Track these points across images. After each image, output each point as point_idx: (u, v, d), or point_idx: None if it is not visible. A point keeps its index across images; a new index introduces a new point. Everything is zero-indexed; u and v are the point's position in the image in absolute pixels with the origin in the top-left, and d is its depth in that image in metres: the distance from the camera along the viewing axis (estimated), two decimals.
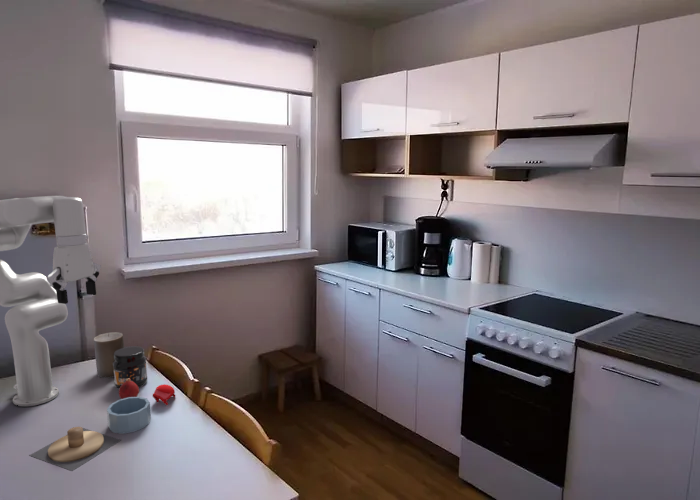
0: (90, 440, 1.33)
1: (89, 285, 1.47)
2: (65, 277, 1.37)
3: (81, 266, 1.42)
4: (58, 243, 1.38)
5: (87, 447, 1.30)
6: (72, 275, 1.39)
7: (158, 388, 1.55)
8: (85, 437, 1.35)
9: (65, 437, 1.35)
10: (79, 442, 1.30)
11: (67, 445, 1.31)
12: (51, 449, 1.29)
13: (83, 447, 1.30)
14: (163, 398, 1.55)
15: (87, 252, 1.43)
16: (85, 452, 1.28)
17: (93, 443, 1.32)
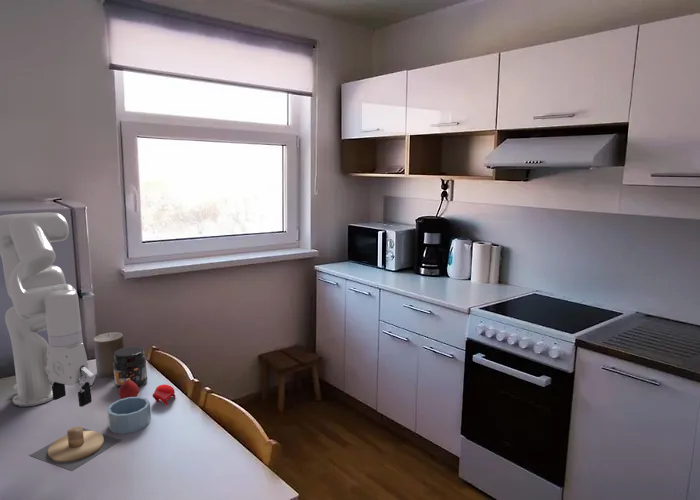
0: (90, 440, 1.33)
1: (59, 387, 1.30)
2: None
3: None
4: (73, 342, 1.24)
5: (87, 447, 1.30)
6: None
7: (158, 388, 1.55)
8: (85, 437, 1.35)
9: (65, 437, 1.35)
10: (79, 442, 1.30)
11: (67, 445, 1.31)
12: (51, 449, 1.29)
13: (83, 447, 1.30)
14: (163, 398, 1.55)
15: None
16: (85, 452, 1.28)
17: (93, 443, 1.32)
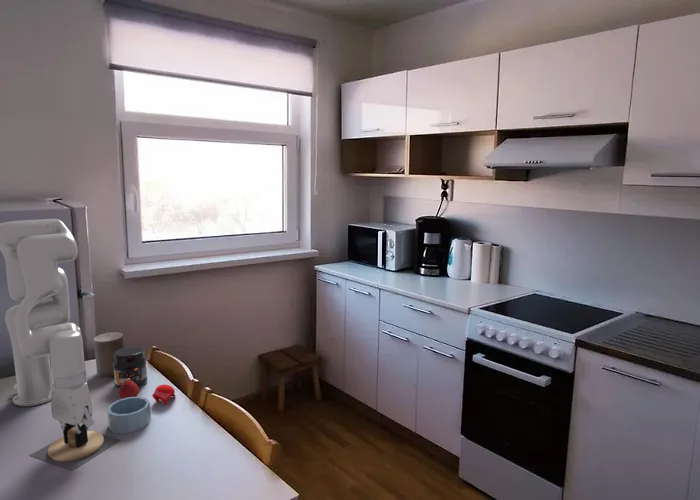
0: (90, 440, 1.33)
1: None
2: None
3: None
4: (77, 383, 1.26)
5: (87, 447, 1.30)
6: None
7: (158, 388, 1.55)
8: None
9: None
10: None
11: (67, 445, 1.31)
12: (51, 449, 1.29)
13: (83, 447, 1.30)
14: (163, 398, 1.55)
15: None
16: (85, 452, 1.28)
17: (93, 443, 1.32)
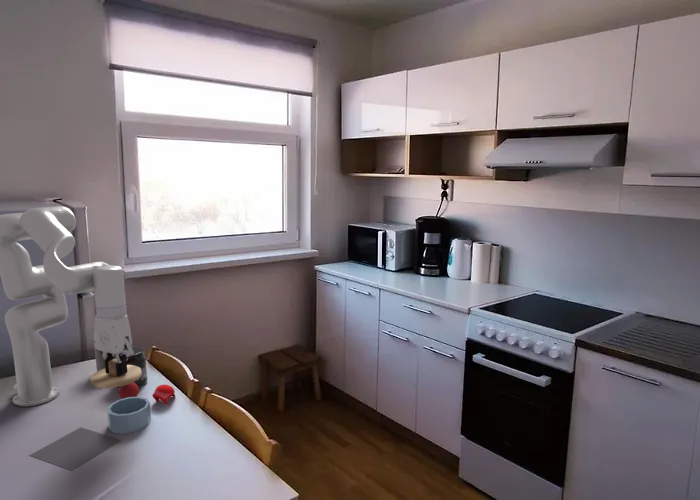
0: (129, 371, 1.41)
1: None
2: (131, 344, 1.37)
3: None
4: (118, 314, 1.34)
5: (127, 377, 1.37)
6: None
7: (158, 388, 1.55)
8: None
9: None
10: None
11: (108, 375, 1.38)
12: (93, 378, 1.36)
13: (123, 376, 1.38)
14: (163, 398, 1.55)
15: None
16: (125, 380, 1.35)
17: (132, 374, 1.39)
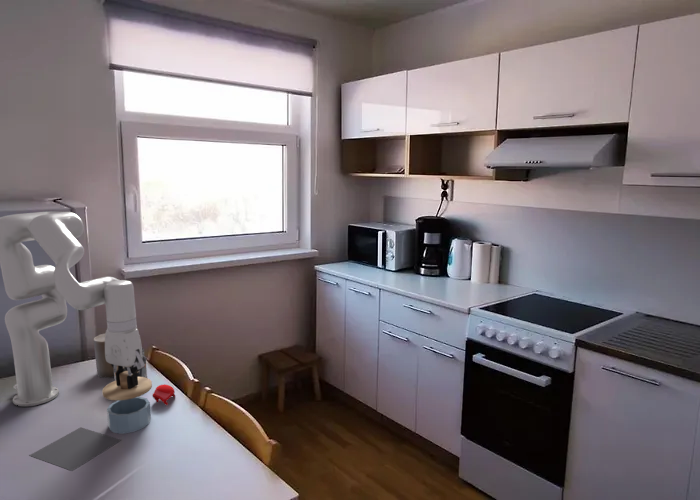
0: (139, 383, 1.44)
1: None
2: (142, 356, 1.40)
3: None
4: (129, 327, 1.37)
5: (138, 389, 1.40)
6: None
7: (158, 388, 1.55)
8: None
9: None
10: None
11: (119, 387, 1.41)
12: (105, 390, 1.39)
13: (134, 388, 1.41)
14: (163, 398, 1.55)
15: None
16: (137, 392, 1.38)
17: (143, 385, 1.42)
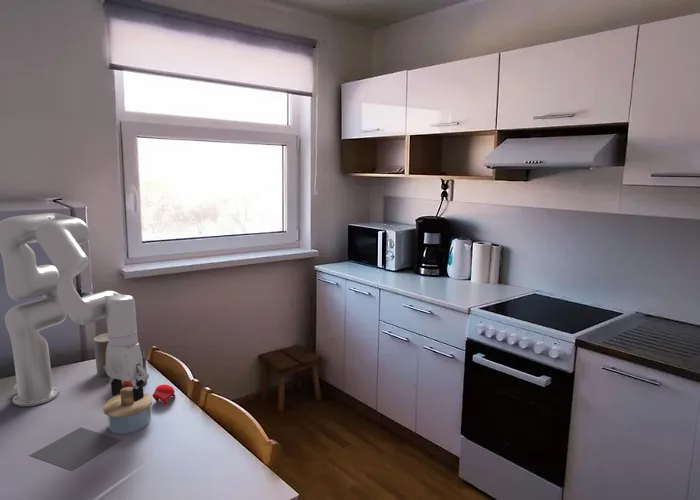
0: (140, 399, 1.45)
1: (117, 384, 1.44)
2: None
3: None
4: (130, 342, 1.37)
5: (139, 405, 1.41)
6: None
7: (158, 388, 1.55)
8: None
9: (116, 397, 1.46)
10: (131, 400, 1.42)
11: (120, 403, 1.42)
12: (105, 407, 1.40)
13: (135, 405, 1.42)
14: (163, 398, 1.55)
15: None
16: (137, 409, 1.39)
17: (143, 402, 1.43)
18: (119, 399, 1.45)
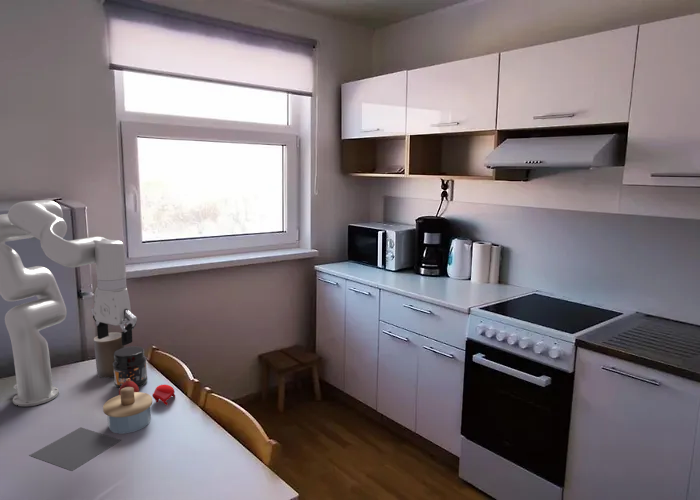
0: (140, 399, 1.45)
1: (103, 327, 1.45)
2: None
3: None
4: (119, 287, 1.38)
5: (139, 405, 1.41)
6: None
7: (158, 388, 1.55)
8: (135, 397, 1.46)
9: (116, 397, 1.46)
10: (131, 400, 1.42)
11: (120, 403, 1.42)
12: (105, 407, 1.40)
13: (135, 405, 1.42)
14: (163, 398, 1.55)
15: None
16: (137, 409, 1.39)
17: (143, 402, 1.43)
18: (119, 399, 1.45)
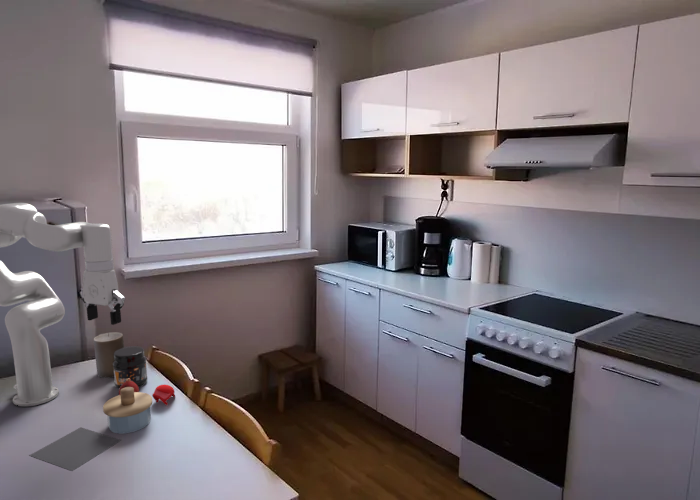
0: (140, 399, 1.45)
1: (93, 309, 1.50)
2: None
3: None
4: (106, 268, 1.44)
5: (139, 405, 1.41)
6: None
7: (158, 388, 1.55)
8: (135, 397, 1.46)
9: (116, 397, 1.46)
10: (131, 400, 1.42)
11: (120, 403, 1.42)
12: (105, 407, 1.40)
13: (135, 405, 1.42)
14: (163, 398, 1.55)
15: None
16: (137, 409, 1.39)
17: (143, 402, 1.43)
18: (119, 399, 1.45)
